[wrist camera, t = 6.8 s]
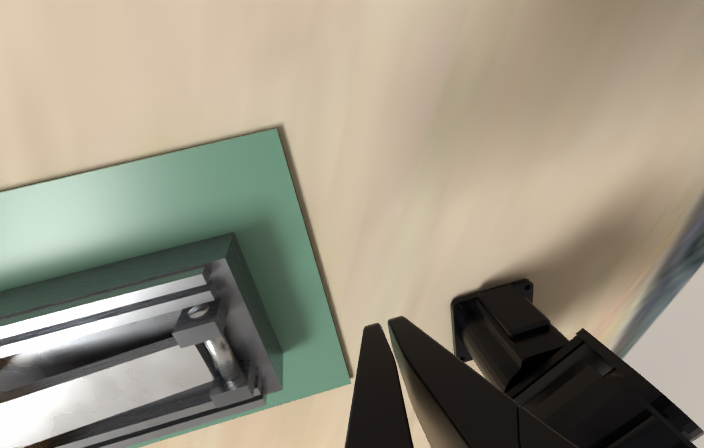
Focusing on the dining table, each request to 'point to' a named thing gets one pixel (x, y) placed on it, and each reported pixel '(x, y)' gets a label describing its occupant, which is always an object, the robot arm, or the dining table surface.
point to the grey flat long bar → (100, 391)
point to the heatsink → (147, 335)
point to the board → (187, 239)
